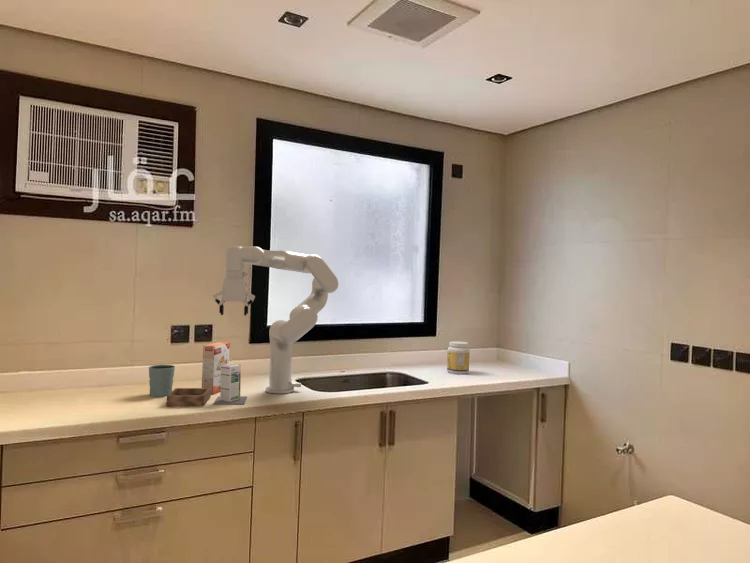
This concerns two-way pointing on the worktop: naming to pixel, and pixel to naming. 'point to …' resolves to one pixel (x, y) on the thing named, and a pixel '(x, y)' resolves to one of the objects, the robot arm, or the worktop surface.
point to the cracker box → (214, 364)
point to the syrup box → (230, 382)
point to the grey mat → (236, 402)
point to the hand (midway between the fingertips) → (233, 315)
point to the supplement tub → (458, 357)
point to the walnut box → (188, 397)
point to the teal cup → (161, 380)
